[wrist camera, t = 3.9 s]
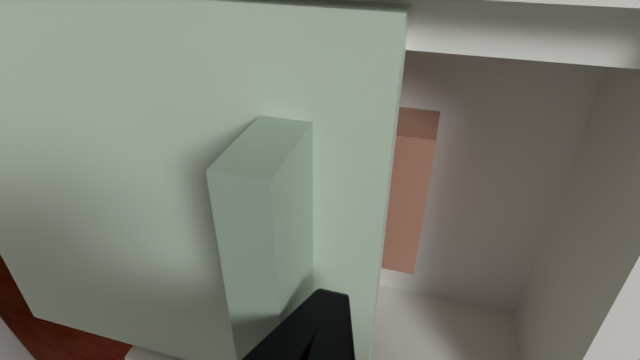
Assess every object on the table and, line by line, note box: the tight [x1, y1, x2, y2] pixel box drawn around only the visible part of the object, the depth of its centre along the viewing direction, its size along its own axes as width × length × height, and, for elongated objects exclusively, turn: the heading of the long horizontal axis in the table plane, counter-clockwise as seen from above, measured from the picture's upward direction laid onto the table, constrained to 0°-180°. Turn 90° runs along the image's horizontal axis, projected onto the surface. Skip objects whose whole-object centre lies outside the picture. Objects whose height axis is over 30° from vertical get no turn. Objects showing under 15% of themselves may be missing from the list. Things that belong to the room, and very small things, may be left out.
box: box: [124, 0, 640, 360], centre depth 13 cm, size 14×15×6 cm
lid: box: [0, 0, 411, 360], centre depth 12 cm, size 13×14×3 cm
